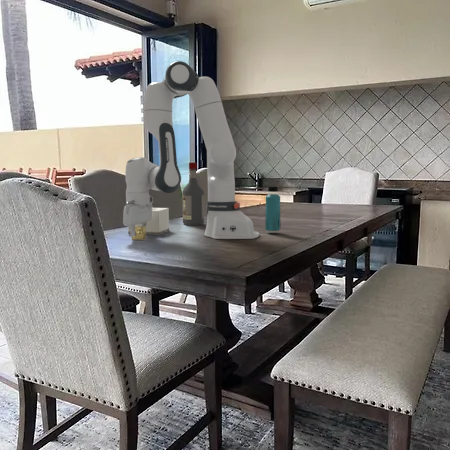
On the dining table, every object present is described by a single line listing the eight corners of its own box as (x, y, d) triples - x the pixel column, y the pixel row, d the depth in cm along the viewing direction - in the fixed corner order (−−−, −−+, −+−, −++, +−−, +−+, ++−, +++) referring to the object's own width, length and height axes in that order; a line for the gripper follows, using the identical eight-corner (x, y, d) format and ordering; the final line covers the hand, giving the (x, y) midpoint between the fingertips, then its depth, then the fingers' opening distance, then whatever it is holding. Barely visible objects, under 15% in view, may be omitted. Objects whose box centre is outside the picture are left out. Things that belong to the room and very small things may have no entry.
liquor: (198, 222, 225) (198, 162, 220) (205, 224, 216) (205, 162, 212) (181, 223, 221) (180, 162, 217) (187, 226, 213) (186, 162, 208)
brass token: (146, 238, 177) (145, 226, 176) (143, 239, 175) (143, 227, 174) (134, 238, 178) (133, 226, 177) (131, 239, 176) (131, 226, 175)
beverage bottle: (279, 234, 186) (280, 186, 183) (263, 234, 187) (264, 186, 184) (281, 232, 192) (281, 185, 190) (265, 232, 194) (266, 185, 191)
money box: (169, 230, 199) (168, 208, 197) (159, 234, 187) (158, 210, 186) (139, 229, 202) (139, 207, 200) (128, 233, 190) (127, 210, 189)
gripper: (134, 201, 164) (135, 239, 165) (154, 197, 183) (155, 231, 185) (118, 201, 165) (119, 238, 167) (140, 197, 185) (141, 230, 187)
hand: (138, 234), depth 176 cm, fingers open, 8 cm apart
